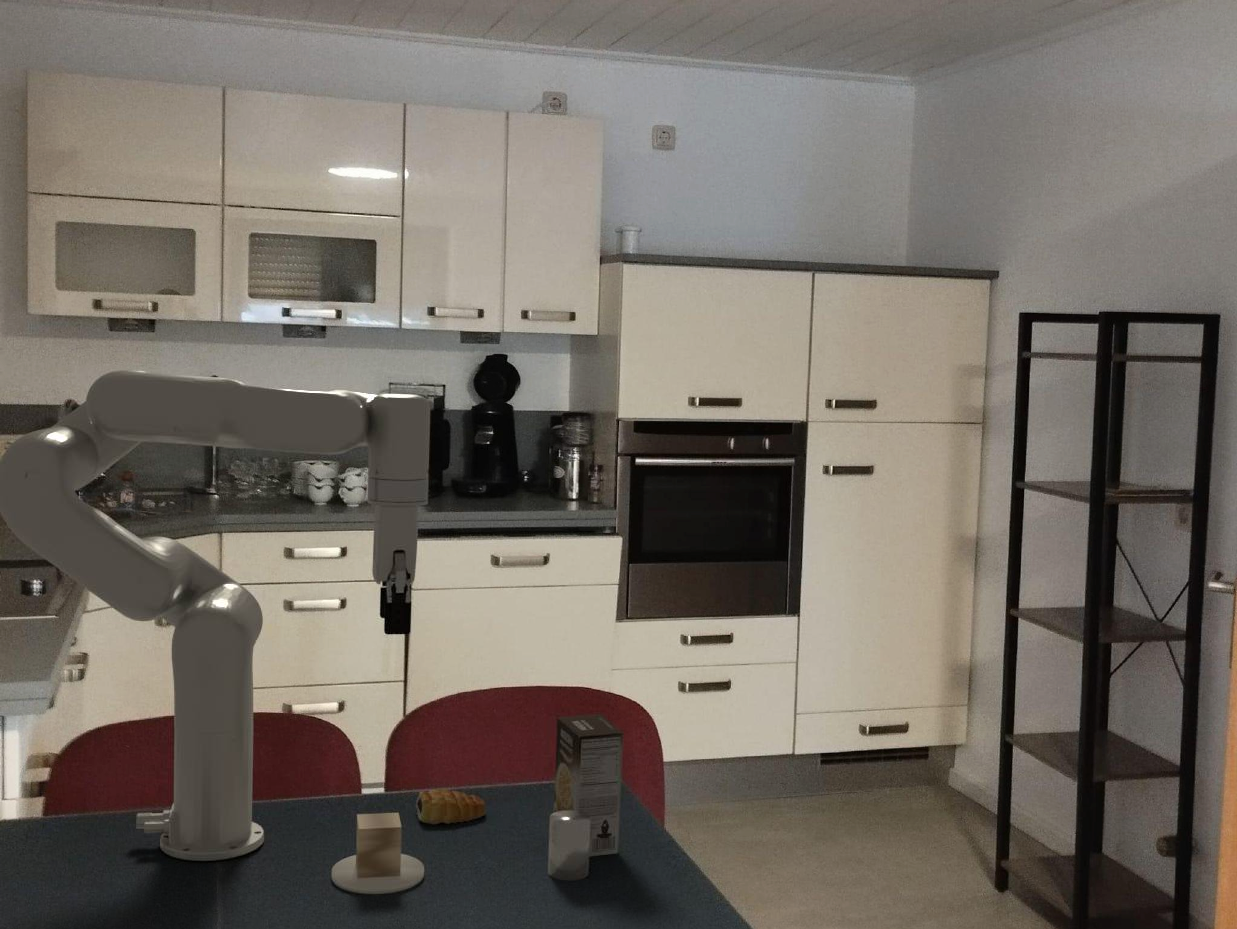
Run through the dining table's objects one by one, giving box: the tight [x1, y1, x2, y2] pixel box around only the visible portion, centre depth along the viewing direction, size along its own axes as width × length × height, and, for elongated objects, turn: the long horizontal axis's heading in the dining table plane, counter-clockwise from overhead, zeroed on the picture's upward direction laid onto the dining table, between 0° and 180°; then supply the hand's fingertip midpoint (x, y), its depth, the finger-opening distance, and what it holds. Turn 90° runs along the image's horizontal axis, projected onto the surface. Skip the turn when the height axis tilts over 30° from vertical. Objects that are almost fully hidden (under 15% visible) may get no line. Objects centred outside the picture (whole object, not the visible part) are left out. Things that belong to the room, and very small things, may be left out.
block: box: [355, 812, 402, 878], centre depth 161 cm, size 5×5×6 cm
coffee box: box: [553, 713, 624, 858], centre depth 174 cm, size 9×6×16 cm
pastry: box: [415, 788, 486, 825], centre depth 183 cm, size 9×7×4 cm
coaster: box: [331, 853, 425, 895], centre depth 162 cm, size 11×11×1 cm
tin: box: [547, 810, 591, 882], centre depth 165 cm, size 5×5×7 cm
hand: (394, 625), depth 170 cm, fingers open, 9 cm apart
